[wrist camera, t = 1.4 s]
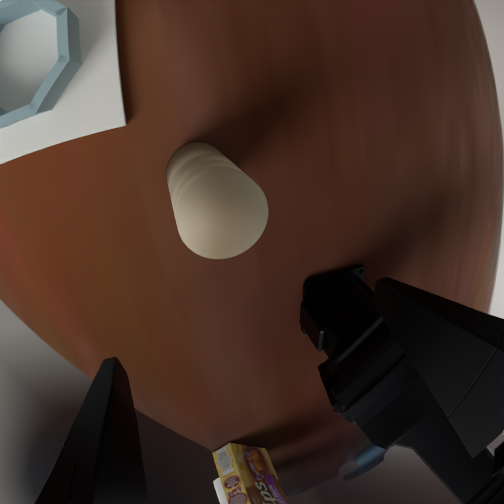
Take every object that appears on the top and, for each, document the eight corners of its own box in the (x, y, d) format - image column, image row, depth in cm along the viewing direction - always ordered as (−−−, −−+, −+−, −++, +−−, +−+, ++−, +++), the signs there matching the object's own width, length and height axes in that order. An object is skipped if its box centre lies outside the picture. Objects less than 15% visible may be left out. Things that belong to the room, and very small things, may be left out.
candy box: (209, 453, 39) (239, 540, 26) (229, 441, 38) (263, 532, 26) (247, 459, 44) (278, 533, 31) (266, 447, 43) (301, 524, 31)
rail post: (223, 138, 19) (266, 166, 13) (228, 194, 21) (269, 248, 15) (162, 148, 18) (169, 181, 12) (171, 205, 20) (185, 267, 14)
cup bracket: (115, -42, 11) (110, -66, 8) (126, 124, 17) (120, 131, 14) (-42, 21, 8) (-69, 15, 5) (-27, 174, 14) (-53, 192, 11)
